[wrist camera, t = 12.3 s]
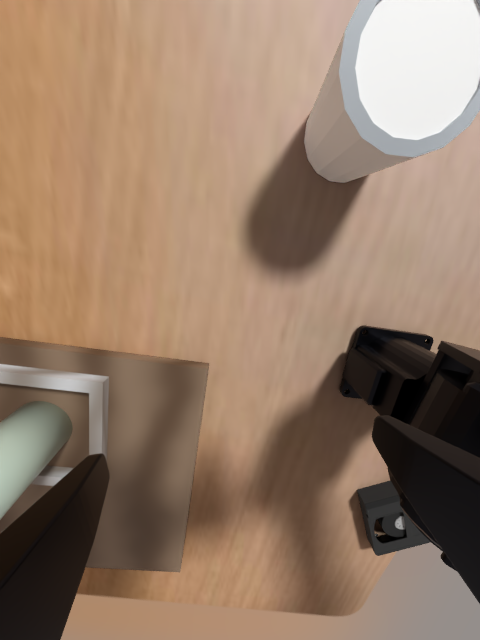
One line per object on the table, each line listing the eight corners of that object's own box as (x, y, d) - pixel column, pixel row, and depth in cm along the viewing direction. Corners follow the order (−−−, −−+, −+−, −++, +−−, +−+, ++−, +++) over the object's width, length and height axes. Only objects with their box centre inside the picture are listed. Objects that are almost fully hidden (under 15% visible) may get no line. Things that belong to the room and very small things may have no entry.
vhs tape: (365, 536, 28) (375, 557, 26) (354, 485, 26) (364, 504, 24) (489, 503, 28) (509, 522, 26) (488, 449, 25) (509, 465, 23)
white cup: (411, 97, 16) (540, -11, 10) (369, 205, 18) (453, 177, 11) (315, 58, 16) (383, -90, 9) (281, 175, 17) (315, 126, 10)
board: (209, 363, 21) (207, 374, 19) (181, 560, 27) (178, 584, 25) (-48, 331, 19) (-79, 340, 17) (-14, 549, 25) (-34, 574, 23)
